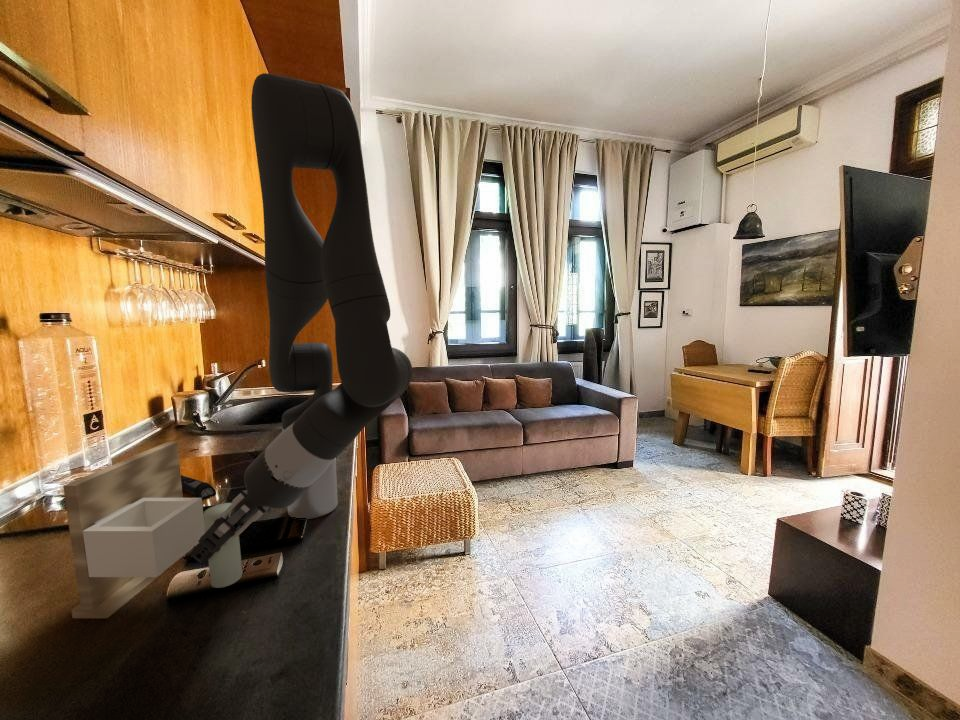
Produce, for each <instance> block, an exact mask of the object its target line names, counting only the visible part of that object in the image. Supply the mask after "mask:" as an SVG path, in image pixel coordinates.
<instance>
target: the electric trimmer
mask: <svg viewBox="0 0 960 720" xmlns="http://www.w3.org/2000/svg"><path fill="white" fill-rule="evenodd" d="M181 483H182V492H186V493H188V494H190V495H192V496H194V498H202V500H203V501H205V500H208V499H210V498H214V497H215V496H216V495H217V491H216V489H215V488H214V486H212V485H211V484H210V483H208V482H204V481H201V480H198V479H195V478H192V477H188V476H186V475H182V474H181ZM204 499H205V500H204Z"/></svg>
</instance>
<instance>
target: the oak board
mask: <svg viewBox="0 0 960 720" xmlns="http://www.w3.org/2000/svg"><path fill="white" fill-rule="evenodd" d="M179 455H180V454H179V446H178V441H166V442H165V443H162V444H159V445H157V446H154V447H151V448H150V449H148V450H145V451H142V452H140V453H137V454H136V455H132V456H131V457H128V458H126V459H124V460H121V461H119V462H117V463H114V464H112V465H109V466H107V467H105V468H102V469H100V470H98V471H95V472H92V473H90V474H87V475H86V476H83V477H80V478H79V479H75V480H74V481H71V482H69V483H66V484H64V485H62V487H63V495H64V500H65V507H66V515H67V520H68V528H69V529H68V530H69V536H70V542H71V543H70V544H71V549H72V556H73V563H74V570H75V577H76V585H77V591H78V598H79V604H76V606H74V607H73V608H72V609H71V615H72V619H108V618H110V617H111V616H112V615H113V614H115V613H116V612H117V611H119V610H120V609H121V608H122V607H123V606H124V605H126V604H127V603H129V601H130V600H132V599H133V598H134V597H135V596H136V595H138V594H139V593H140V592H141V591H142V590H144V589H145V588H146V587H148V586H149V585H150V584H151V583H152V582H154V581H155V580H156V579H157V578H158V577H89V573H88V565H87V558H86V551H85V544H84V537H83V531H84V530H86V529H87V528H89V527H91V526H93V525H94V523H95V522H97V521H98V520H100V519H102V518H104V517H106V516H108V515H109V514H111V513H113V512H115V511H117V510H119V509H120V508H122V507H124V506H126V505H128V504H133V503H134V502H136V501H138V500H140V499H142V498H184V495H183V491H182V483H181V475H182V474H181V465H180V456H179ZM190 551H191V550H189V551H188V552H187V553H189V552H190ZM184 556H185V555H183V556H182V557H184ZM178 561H179V560H177V561H176V562H178ZM173 565H174V564H172V565H171V566H170V567H172V566H173ZM167 570H168V569H166V570H165V571H167ZM161 575H162V574H160V575H159V576H161Z"/></svg>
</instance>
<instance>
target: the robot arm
mask: <svg viewBox="0 0 960 720" xmlns="http://www.w3.org/2000/svg"><path fill="white" fill-rule="evenodd" d="M355 114H356V113H355V111H354V108H353V106H352V103H351V101H350V99H349V98H348V97H347V95H346V94H345V92H343V91H342V90H340V89H338V88H336V87H333V86H329V85H326V84H322V83H318V82H312V81H308V80H304V79H299V78H294V77H290V76H285V75H280V74H276V73H275V74H273V73H266V72H265V73H264V72H263V73H260V74H258V75H257V76H256V78H255V79H254V82H253V85H252V91H251V119H252V129H253V136H254V137H253V138H254V146H255V152H256V159H257V168H258V177H259V185H260V191H261V198H262V199H261V201H262V212H263V232H264V235H263V236H264V271H265V287H266V296H267V297H266V298H267V304H268V315H269V350H268V351H269V352H268V357H269V358H268V370H269V379H270V382H271V384H272V386H273V388H274V390H276V391H278V392H280V393H299V392H308V391H309V392H310V391H313V394H312V395H311V396H310V397H309V398H308V399H306V400H305V401H304V402H302V403H299V404H297V405H295V406H293V407H290V408H288V409H286V410H285V411H284V412H283V413H282V416H281V428H282V429H281V430H282V431H281V432H280V433H279V434H278V435H277V436H276V437H275V438H274V439H273V440H272V441H271V442H270V443H269V444H268V446H266V447H265V449H264V450H263V451H262V452H261V453H259V455H258V456H257V457H256V458H255V459H253V461H252V462H251V463H250V464H249V465H248V466H247V467H246V469H245V471H244V474H243V481H244V485H245V490H244V489H243V490H241V492H240V493H239V494H238V495H237V496H236V497H234V498H233V499H232V500H231V503H232V504H231V505H230V506H229V507H228V508H227V509H226V510H225V511H224V512H223V513H222V514H221V515H220V516H219V517H218V518H217V519H216V520H215V521H214V522H215V523H214V524H213V525H212V526H211V527H210V528H209V529H208V530H207V532H206V533H205V534H204V535H202V536H201V537H200V538H201V539H200V540H199V541H198V542H199V543H198V544H197V545H196V546H195V548H194V549H192V551H191V552H190V556H191V558H193V559H194V560H195V561H197V562H198V563H199V564H201V565H203V564H205V563H206V562H208V559H209V558H210V557H211V556H212V555H213V554H214V553H215V552H218V551H219V550H220V548H221V547H222V546H223V547H224V546H225V545H226V544H227V543H226V542H227V541H228V540H229V539H230V538H231V537H233V536H234V537H237V536H238V535H239V536H240V535H241V534H242V533H244V531H245V530H246V529H247V528H249V526H250V525H251V524H252V523H253V522H256V521H258V520H259V519H260V518H261V517H262V516H263V514H265V513H266V512H267V511H269V510H270V508H272V509H285V508H287V514H288V516H289V517H290V518H293V517H296V518H306V519H305V520H311V519H315V518H319V517H322V516H325V515H328V514H329V513H331V512H333V511H334V510H335V509H336V508H337V506H338V503H339V501H338V482H337V480H338V479H337V462H336V461H337V460H336V459H337V457H338V456H339V455H340V454H341V453H343V451H344V450H346V448H347V447H349V445H350V444H351V443H352V442H353V441H354V440H355V439H356V438H357V437H358V435H360V433H361V432H362V431H363V430H364V428H365V427H367V425H368V424H370V423H371V422H372V421H373V420H375V419H376V418H377V417H378V416H379V415H380V414H381V413H383V412H384V411H385V410H387V408H388V407H389V406H391V405H392V404H393V403H394V402H396V400H398V399H399V398H400V397H401V396H402V395H403V394H404V392H405V391H406V390H407V389H408V387H409V386H410V384H411V382H412V379H413V365H412V362H411V360H410V358H409V357H408V356H407V355H406V354H405V353H404V352H403V351H402V350H400V349H399V348H395V347H392V344H391V339H390V334H389V333H390V332H389V328H388V322H389V320H390V318H391V306H390V302H389V298H388V294H387V289H386V287H385V283H384V279H383V276H382V273H381V272H382V271H381V268H380V265H379V262H378V256H377V253H376V247H375V243H374V236H373V230H372V222H371V214H370V206H369V205H370V203H369V197H368V188H367V179H366V173H365V165H364V158H363V150H362V143H361V137H360V130H359V126H358V122H357V117H356V115H355ZM294 168H296V169H297V168H301V169H314V170H322V171H323V170H326V171H327V170H328V171H331V173H332V175H333V179H334V182H335V189H336V201H335V206H334V210H333V214H332V217H331V220H330V223H329V225H328V228H327V232H326V234H325V237H324V239H323V238H322V236H321V235H320V233H319V232H318V231H317V229H316V228H315V226H314V225H313V223H312V222H311V220H310V219H309V218H308V216H307V215H306V214H305V211H304V210H303V208H302V206H301V204H300V202H299V200H298V198H297V196H296V192H295V188H294V183H293V171H294ZM327 301H328V304H329V307H330V309H331V310H330V312H331V314H332V318H333V320H334V327H335V329H334V333H335V334H334V341H335V351H336V363H337V371H338V375H339V378H340V382H341V383H340V384H339V385H338V386H336V387H335V388H334V389H333V377H334V376H333V372H334V370H333V362H334V361H333V355H332V350H331V348H330V346H329V345H328V344H327V343H325V342H302V343H301V342H299V343H297V342H296V343H294V342H295V341H296V338H297V337H298V335H299V333H300V332H301V331H302V330H303V329H304V327H306V326H307V325H308V323H310V321H312V320H313V319H314V317H315V316H317V314H318V313H319V312H321V310H322V308H323V307H324V306H325V304H326V303H327ZM230 512H231V513H230ZM229 513H230V517H229ZM296 518H295V519H296ZM237 523H238V524H237Z"/></svg>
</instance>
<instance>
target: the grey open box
mask: <svg viewBox="0 0 960 720" xmlns="http://www.w3.org/2000/svg"><path fill="white" fill-rule="evenodd" d="M203 506H204V505H203V501H202V498H195V497H183V498H142V499H140V500H138V501H136V502H134V503H133V504H128V505H126V506H124V507H122V508H120V509H119V510H117V511H115V512H113V513H111V514H109V515H108V516H106V517H104V518H102V519H100V520H98V521H97V522H95V523H94V525H93V526H91V527H89V528H87V529H86V530H84V531H83V537H84V544H85V551H86V558H87V565H88V573H89V577H157V578H159V576H161V575H162V574H164V572H166V571H167V570H168V569H169V568H170V567H172V566H173V565H174V564H175V563H176V562H178V561H179V560H180V559H181V558H182V557H184V556H185V555H186V554H187V553H189V552H190V551H191V550H193V548H194V546H195V547H197V546H198V545H199V542H198V541H199V540H200V539H201V538H200V537H201V536H202V535H204V534H205V523H204V507H203ZM189 550H190V551H189ZM188 551H189V552H188ZM183 555H184V556H183ZM177 560H178V561H177ZM172 564H173V565H172ZM171 565H172V566H171ZM166 569H167V570H166ZM160 574H161V575H160Z"/></svg>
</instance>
